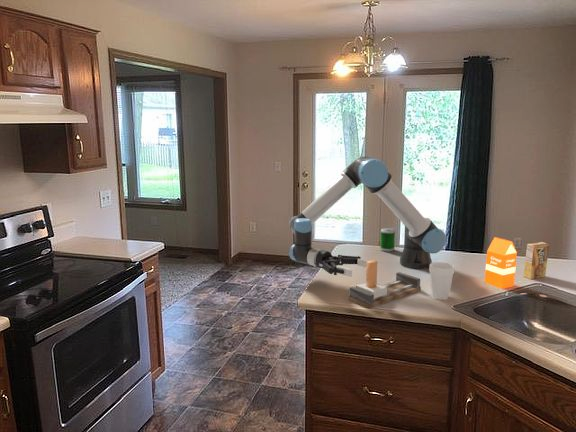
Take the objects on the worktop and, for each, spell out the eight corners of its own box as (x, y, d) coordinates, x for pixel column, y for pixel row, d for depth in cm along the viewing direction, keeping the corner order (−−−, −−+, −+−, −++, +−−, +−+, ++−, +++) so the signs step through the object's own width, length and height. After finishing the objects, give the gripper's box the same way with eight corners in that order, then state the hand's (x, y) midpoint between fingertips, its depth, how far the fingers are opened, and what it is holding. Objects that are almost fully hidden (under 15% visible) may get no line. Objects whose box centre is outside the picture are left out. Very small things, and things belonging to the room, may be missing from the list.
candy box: (537, 274, 210) (541, 241, 207) (545, 277, 206) (549, 244, 203) (523, 276, 207) (526, 243, 204) (530, 279, 203) (534, 246, 200)
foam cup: (424, 292, 189) (426, 262, 186) (446, 291, 190) (448, 261, 187) (433, 301, 180) (435, 270, 177) (456, 300, 181) (458, 269, 178)
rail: (399, 282, 201) (400, 271, 200) (420, 289, 192) (421, 278, 191) (348, 299, 183) (348, 287, 182) (368, 308, 174) (369, 296, 173)
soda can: (394, 252, 246) (395, 230, 244) (380, 251, 248) (380, 230, 245) (394, 248, 254) (395, 227, 251) (380, 247, 255) (380, 226, 253)
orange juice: (501, 288, 193) (505, 242, 188) (484, 282, 200) (487, 237, 196) (514, 285, 196) (518, 240, 192) (496, 279, 204) (500, 235, 200)
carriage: (369, 287, 188) (370, 257, 185) (386, 294, 181) (387, 262, 178) (355, 292, 183) (356, 261, 180) (372, 299, 176) (373, 266, 173)
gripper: (337, 260, 206) (378, 270, 192) (300, 274, 189) (342, 286, 174) (338, 244, 205) (379, 253, 191) (300, 256, 187) (342, 267, 173)
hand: (361, 269), depth 182 cm, fingers open, 13 cm apart
